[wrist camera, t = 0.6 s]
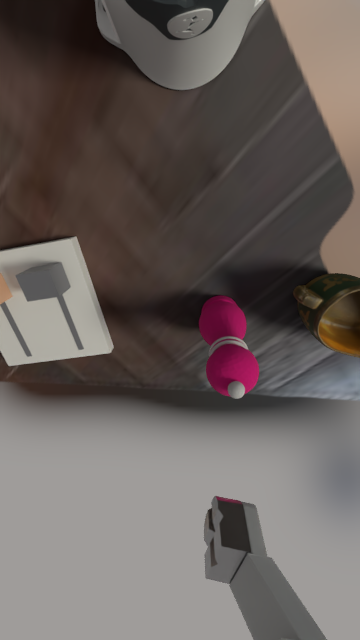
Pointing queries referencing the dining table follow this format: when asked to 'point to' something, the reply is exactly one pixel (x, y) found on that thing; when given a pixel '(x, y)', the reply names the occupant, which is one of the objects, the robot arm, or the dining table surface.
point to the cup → (332, 311)
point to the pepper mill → (227, 347)
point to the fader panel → (51, 308)
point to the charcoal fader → (43, 282)
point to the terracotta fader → (4, 290)
